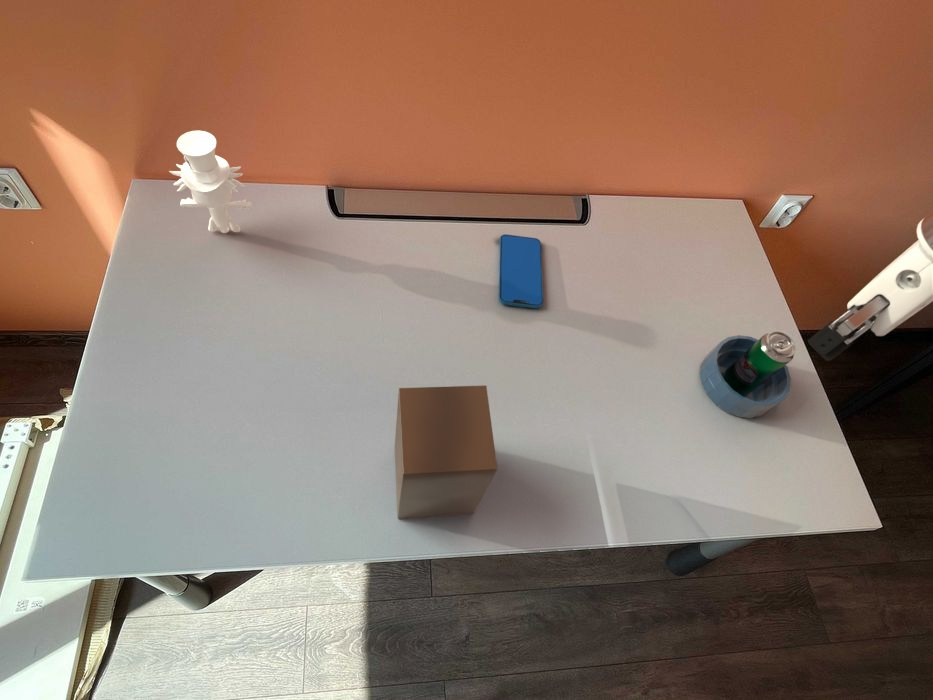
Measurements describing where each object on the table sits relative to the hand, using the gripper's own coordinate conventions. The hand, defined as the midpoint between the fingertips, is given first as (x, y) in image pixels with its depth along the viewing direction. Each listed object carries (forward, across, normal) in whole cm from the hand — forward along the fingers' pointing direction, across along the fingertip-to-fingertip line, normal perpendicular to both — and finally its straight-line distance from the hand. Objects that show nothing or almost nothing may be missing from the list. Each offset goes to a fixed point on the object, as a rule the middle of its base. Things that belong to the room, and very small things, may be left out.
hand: (842, 333), depth 69 cm
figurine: (+25, -52, +69) cm, 90 cm away
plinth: (+25, -45, +16) cm, 54 cm away
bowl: (+25, +5, +4) cm, 25 cm away
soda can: (+24, +5, +4) cm, 25 cm away
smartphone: (+25, -13, +39) cm, 48 cm away
